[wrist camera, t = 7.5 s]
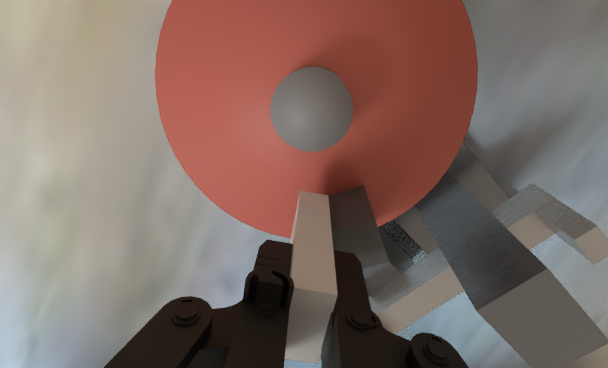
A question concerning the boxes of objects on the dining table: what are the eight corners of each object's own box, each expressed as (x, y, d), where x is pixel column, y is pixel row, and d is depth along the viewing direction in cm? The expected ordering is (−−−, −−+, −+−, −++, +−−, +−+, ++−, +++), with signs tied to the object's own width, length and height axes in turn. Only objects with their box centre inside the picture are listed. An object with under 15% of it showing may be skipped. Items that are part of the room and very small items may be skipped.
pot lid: (114, 4, 15) (19, -16, 10) (424, -145, 13) (486, -261, 8) (242, 253, 20) (218, 317, 15) (485, 179, 17) (547, 229, 13)
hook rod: (348, 332, 29) (355, 411, 22) (321, 309, 28) (321, 384, 22) (542, 203, 23) (623, 259, 17) (516, 169, 22) (590, 216, 16)
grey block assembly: (399, 289, 32) (449, 443, 19) (336, 229, 30) (347, 359, 17) (517, 210, 28) (672, 338, 16) (455, 134, 26) (577, 214, 14)
